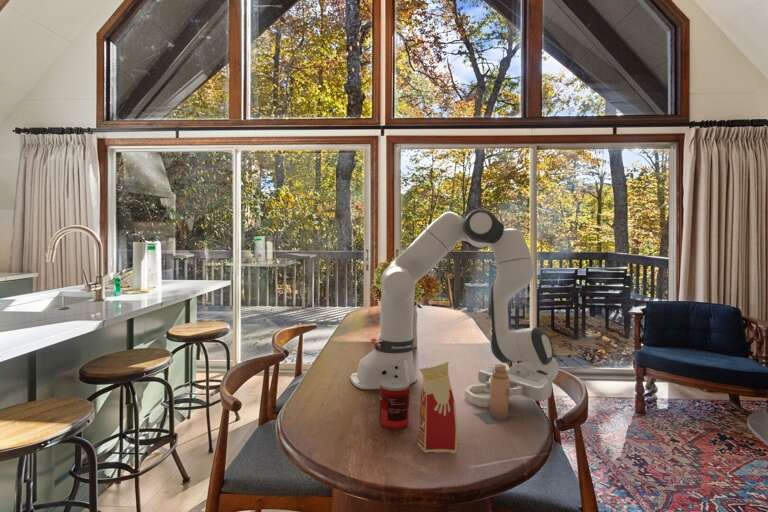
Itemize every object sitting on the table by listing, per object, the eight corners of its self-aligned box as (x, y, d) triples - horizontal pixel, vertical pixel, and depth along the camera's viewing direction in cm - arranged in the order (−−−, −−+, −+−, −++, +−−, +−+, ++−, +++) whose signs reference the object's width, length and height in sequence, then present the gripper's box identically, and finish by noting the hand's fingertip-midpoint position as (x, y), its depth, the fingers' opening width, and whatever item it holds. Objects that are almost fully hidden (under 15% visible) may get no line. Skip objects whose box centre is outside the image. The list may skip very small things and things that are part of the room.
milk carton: (450, 434, 108) (452, 356, 107) (458, 453, 99) (460, 367, 97) (414, 434, 108) (416, 355, 106) (418, 453, 98) (420, 367, 97)
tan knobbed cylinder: (495, 421, 115) (497, 369, 114) (485, 413, 120) (487, 364, 119) (511, 418, 117) (513, 368, 116) (501, 411, 121) (502, 362, 121)
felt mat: (487, 425, 113) (487, 424, 113) (473, 414, 120) (473, 413, 120) (514, 421, 116) (514, 420, 116) (500, 410, 122) (500, 409, 122)
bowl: (478, 410, 123) (479, 400, 123) (459, 395, 134) (459, 386, 134) (514, 405, 126) (514, 396, 126) (492, 391, 138) (492, 382, 137)
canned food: (391, 414, 119) (391, 375, 118) (414, 423, 114) (415, 382, 113) (373, 423, 113) (373, 382, 112) (397, 433, 108) (397, 390, 107)
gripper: (493, 359, 134) (466, 368, 125) (557, 376, 119) (532, 388, 110) (492, 379, 134) (466, 390, 125) (556, 398, 120) (531, 412, 110)
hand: (497, 389), depth 117 cm, fingers closed on tan knobbed cylinder, 5 cm apart
